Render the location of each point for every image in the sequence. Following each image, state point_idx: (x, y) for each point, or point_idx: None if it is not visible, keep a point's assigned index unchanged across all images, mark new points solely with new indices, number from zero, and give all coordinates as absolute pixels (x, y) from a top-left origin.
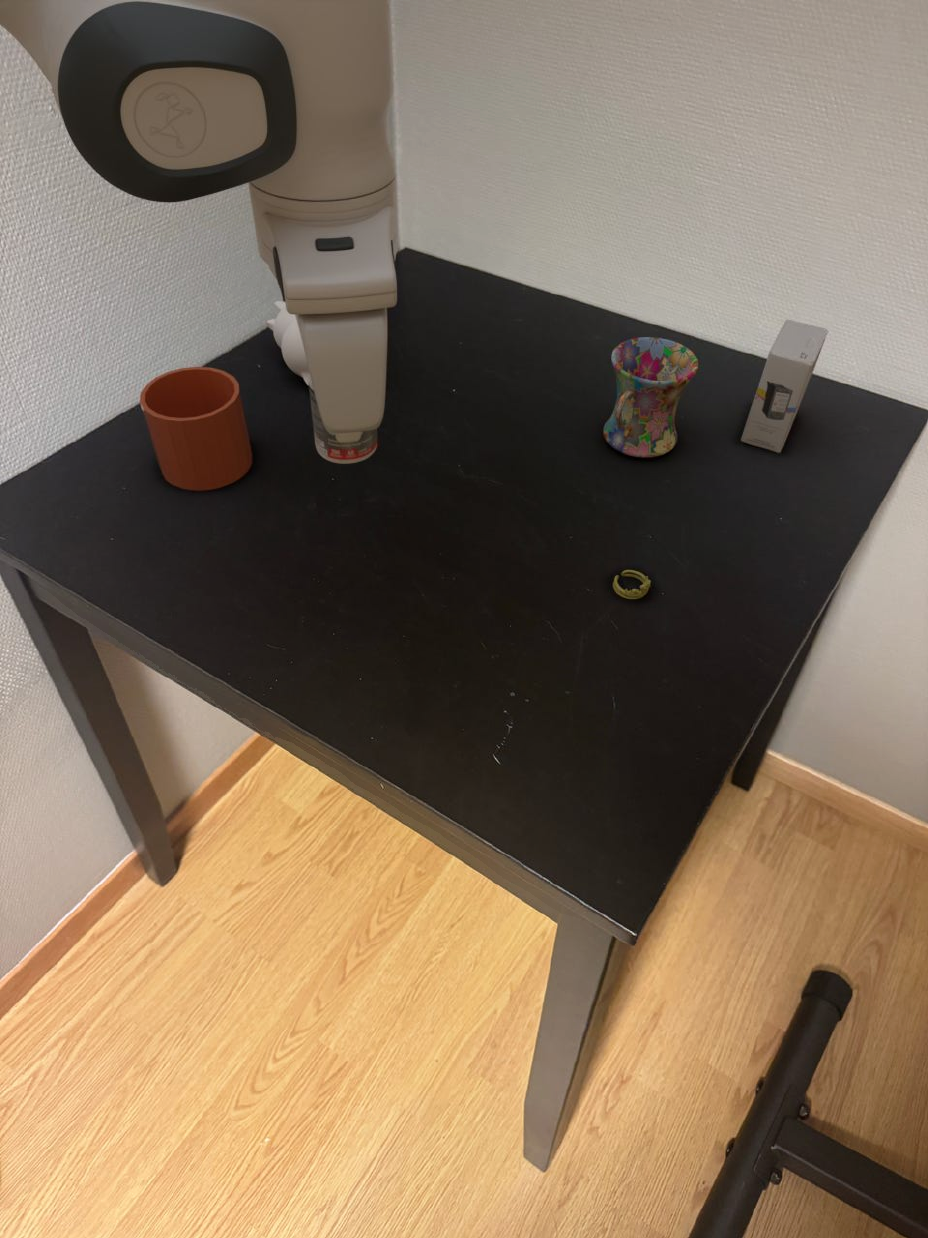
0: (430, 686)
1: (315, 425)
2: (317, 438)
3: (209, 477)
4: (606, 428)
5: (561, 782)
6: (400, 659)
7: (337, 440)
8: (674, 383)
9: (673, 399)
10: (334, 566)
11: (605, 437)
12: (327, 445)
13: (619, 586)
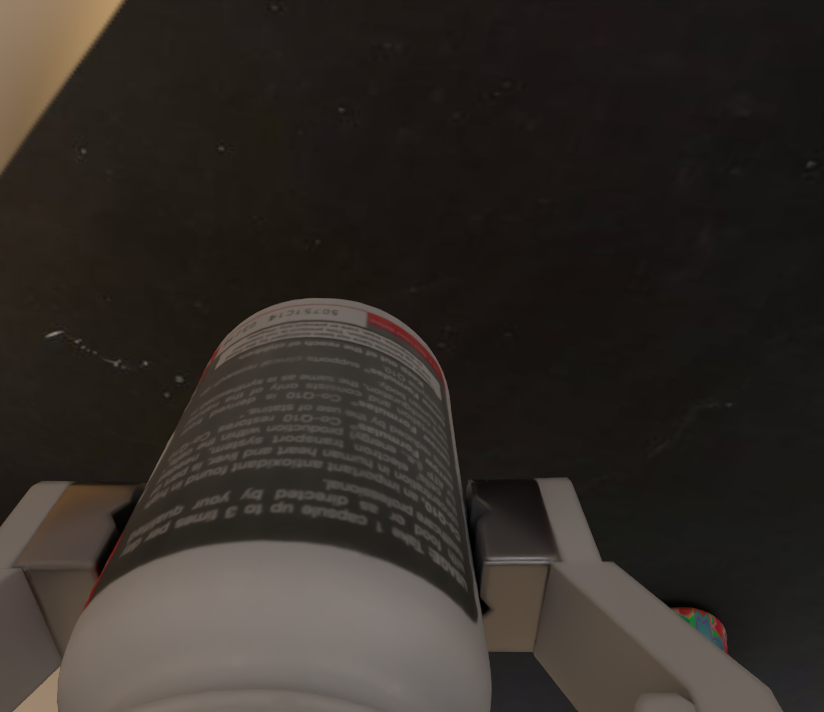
0: (198, 266)
1: (243, 379)
2: (250, 344)
3: None
4: (696, 619)
5: (21, 404)
6: (263, 227)
7: (41, 481)
8: None
9: None
10: (532, 134)
11: (681, 610)
12: (203, 377)
13: None
